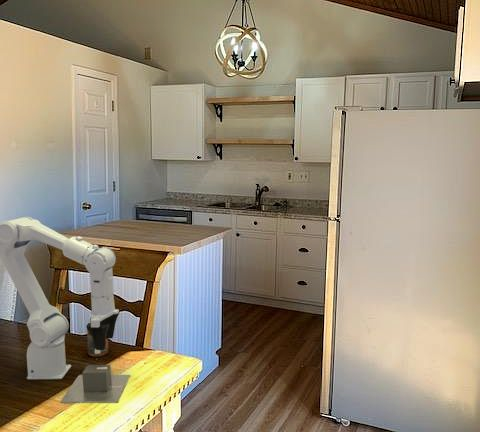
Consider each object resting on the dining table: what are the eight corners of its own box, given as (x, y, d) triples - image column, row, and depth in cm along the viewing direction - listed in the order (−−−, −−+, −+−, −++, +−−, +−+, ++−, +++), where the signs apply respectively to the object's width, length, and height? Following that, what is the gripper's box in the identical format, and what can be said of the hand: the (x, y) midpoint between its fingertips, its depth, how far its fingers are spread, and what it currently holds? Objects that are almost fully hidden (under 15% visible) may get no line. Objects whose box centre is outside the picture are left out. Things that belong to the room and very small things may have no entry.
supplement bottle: (102, 358, 145) (101, 321, 144) (84, 356, 147) (82, 320, 145) (111, 350, 151) (110, 314, 150) (94, 348, 152) (92, 313, 151)
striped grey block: (83, 391, 125) (82, 372, 124) (88, 383, 129) (87, 364, 128) (107, 391, 125) (105, 371, 124) (111, 382, 129) (110, 364, 128)
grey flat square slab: (60, 402, 120) (59, 389, 120) (79, 376, 134) (78, 364, 134) (117, 402, 120) (116, 389, 120) (130, 376, 134) (129, 364, 134)
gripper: (109, 303, 122) (111, 355, 124) (124, 286, 136) (126, 333, 138) (81, 303, 122) (84, 355, 124) (99, 286, 137) (101, 333, 138)
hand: (104, 343), depth 131 cm, fingers open, 7 cm apart
